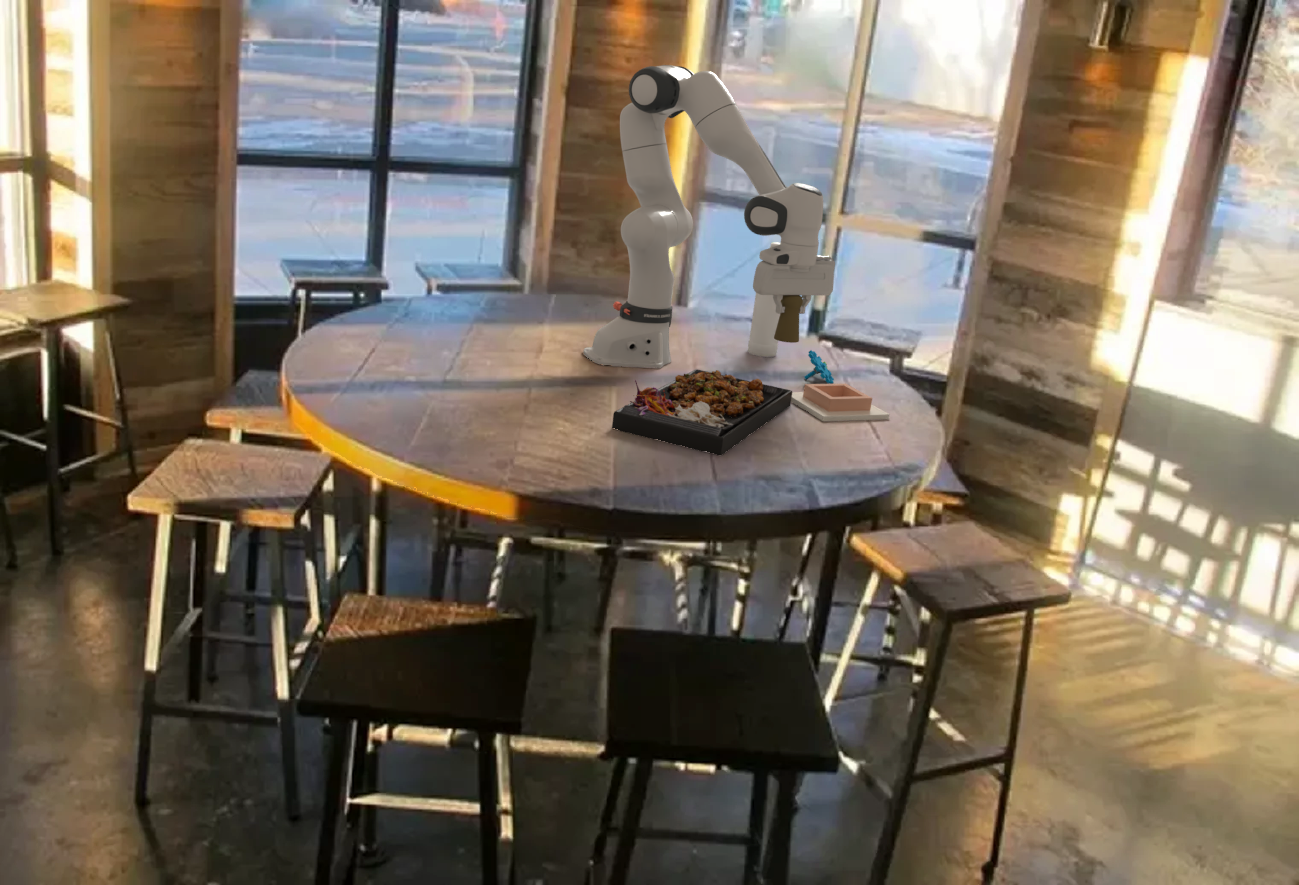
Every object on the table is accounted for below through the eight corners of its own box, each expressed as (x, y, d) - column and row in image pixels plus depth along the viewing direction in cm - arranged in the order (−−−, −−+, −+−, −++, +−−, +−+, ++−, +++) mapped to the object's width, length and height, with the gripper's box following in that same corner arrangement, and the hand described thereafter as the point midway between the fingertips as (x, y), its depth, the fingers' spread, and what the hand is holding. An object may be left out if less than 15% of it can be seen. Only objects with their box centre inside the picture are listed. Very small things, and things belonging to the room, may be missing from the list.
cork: (801, 339, 294) (808, 294, 290) (795, 344, 288) (801, 298, 285) (777, 334, 296) (783, 290, 292) (770, 339, 290) (776, 293, 287)
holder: (822, 421, 278) (825, 403, 276) (783, 397, 293) (786, 380, 292) (888, 419, 285) (891, 402, 284) (847, 395, 300) (849, 379, 299)
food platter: (720, 459, 247) (727, 410, 244) (611, 431, 256) (616, 384, 253) (789, 408, 287) (796, 366, 283) (693, 386, 296) (698, 345, 292)
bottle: (743, 353, 329) (758, 242, 320) (752, 347, 336) (767, 239, 327) (771, 359, 327) (788, 247, 317) (780, 353, 334) (796, 244, 324)
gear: (831, 383, 304) (809, 349, 305) (812, 396, 306) (789, 363, 307) (840, 379, 314) (818, 347, 315) (821, 392, 316) (799, 360, 317)
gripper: (828, 253, 293) (820, 310, 297) (753, 251, 284) (746, 309, 289) (842, 258, 287) (834, 316, 292) (766, 256, 279) (759, 316, 283)
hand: (789, 313), depth 290 cm, fingers closed on cork, 4 cm apart
